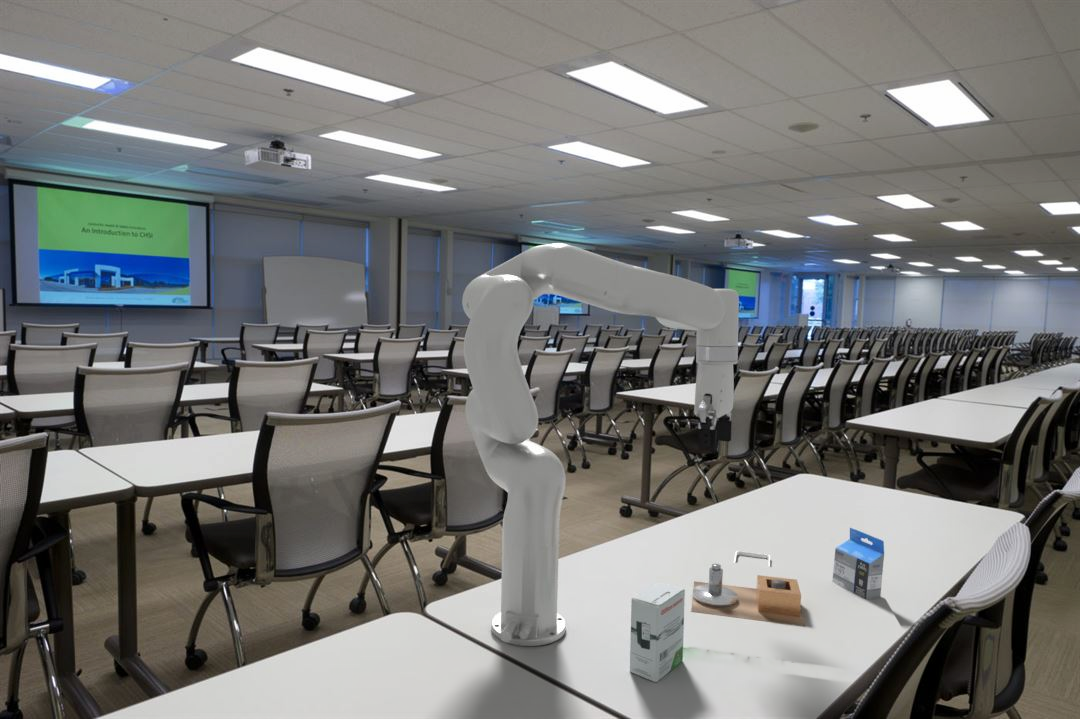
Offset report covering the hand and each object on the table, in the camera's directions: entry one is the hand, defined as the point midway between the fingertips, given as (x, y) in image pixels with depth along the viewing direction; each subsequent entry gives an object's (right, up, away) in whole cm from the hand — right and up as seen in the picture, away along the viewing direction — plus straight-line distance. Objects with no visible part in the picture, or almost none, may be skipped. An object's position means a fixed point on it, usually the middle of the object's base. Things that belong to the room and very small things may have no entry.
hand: (715, 445), depth 133 cm
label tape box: (+28, -30, +3) cm, 41 cm away
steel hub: (-1, -28, -3) cm, 28 cm away
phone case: (+12, -29, +17) cm, 35 cm away
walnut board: (+4, -30, -4) cm, 30 cm away
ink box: (-15, -31, -25) cm, 43 cm away
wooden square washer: (+10, -28, -5) cm, 31 cm away
